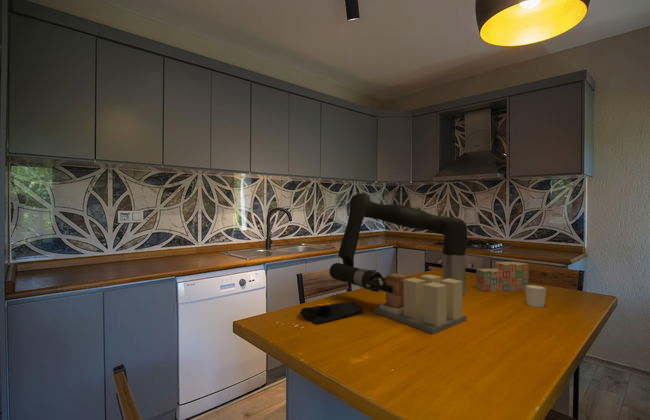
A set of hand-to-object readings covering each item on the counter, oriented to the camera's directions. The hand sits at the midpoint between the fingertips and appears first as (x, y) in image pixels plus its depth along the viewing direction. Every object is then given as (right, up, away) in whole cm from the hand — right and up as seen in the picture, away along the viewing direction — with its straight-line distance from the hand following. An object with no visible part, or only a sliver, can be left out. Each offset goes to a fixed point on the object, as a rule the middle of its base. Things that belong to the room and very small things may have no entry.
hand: (400, 288), depth 114 cm
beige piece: (+55, -9, +11) cm, 57 cm away
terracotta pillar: (-1, -8, +2) cm, 8 cm away
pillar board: (+6, -9, -2) cm, 12 cm away
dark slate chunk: (-24, -10, +2) cm, 26 cm away
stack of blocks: (+55, -9, +34) cm, 65 cm away
